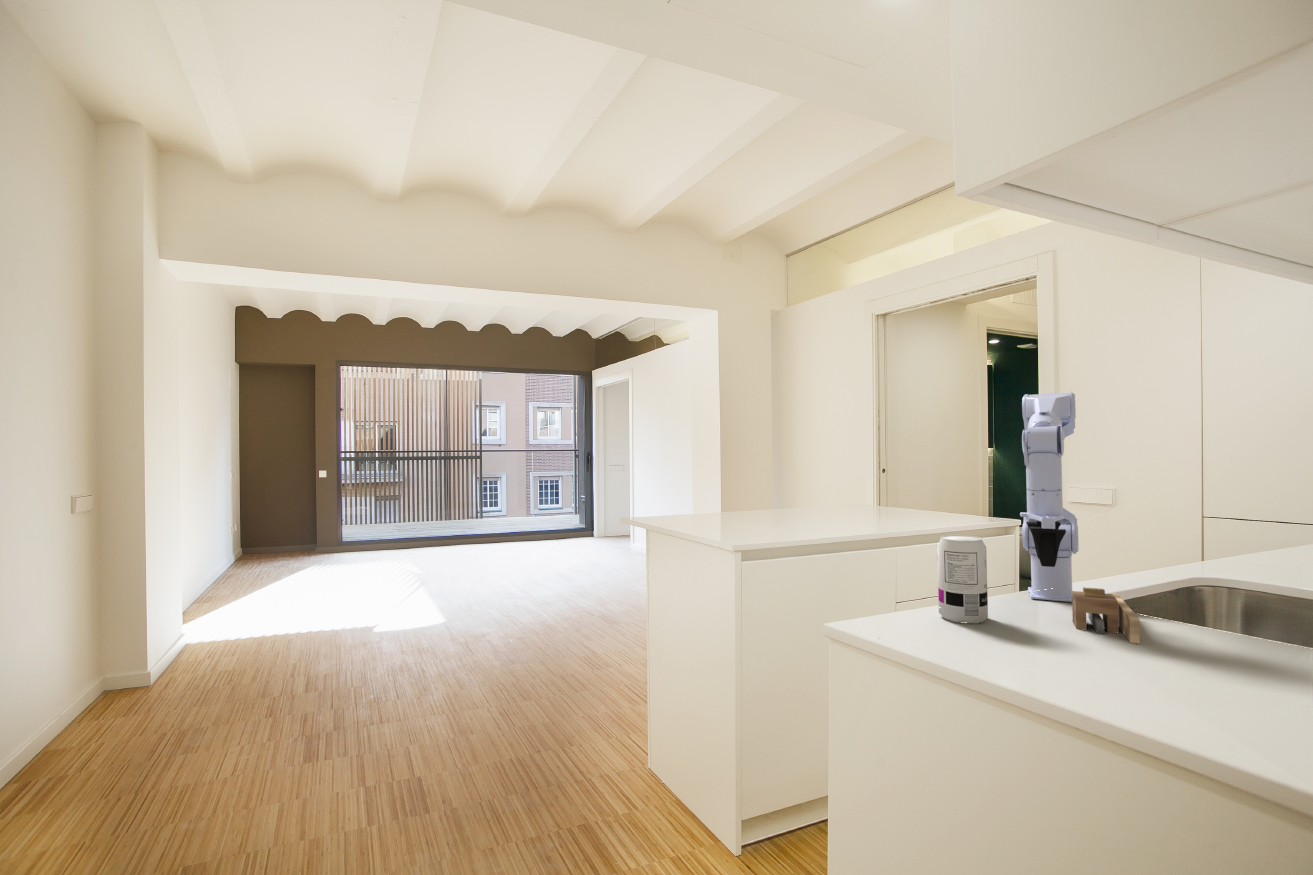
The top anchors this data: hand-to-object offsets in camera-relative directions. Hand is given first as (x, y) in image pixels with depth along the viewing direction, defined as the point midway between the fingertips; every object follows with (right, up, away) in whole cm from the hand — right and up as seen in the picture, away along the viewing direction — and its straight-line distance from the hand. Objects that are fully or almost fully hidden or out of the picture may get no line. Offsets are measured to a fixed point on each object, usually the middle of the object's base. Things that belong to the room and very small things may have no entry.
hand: (1046, 562), depth 117 cm
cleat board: (+6, -10, -8) cm, 14 cm away
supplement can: (-16, -11, -1) cm, 19 cm away
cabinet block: (+4, -10, -8) cm, 13 cm away
